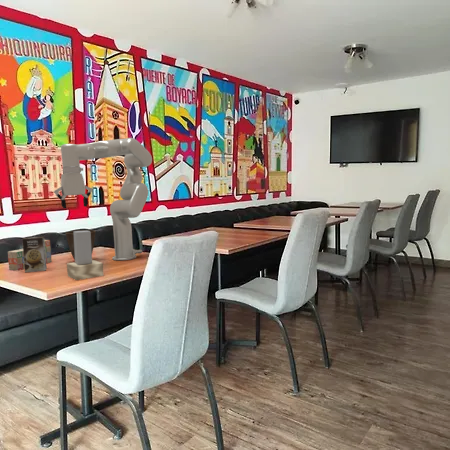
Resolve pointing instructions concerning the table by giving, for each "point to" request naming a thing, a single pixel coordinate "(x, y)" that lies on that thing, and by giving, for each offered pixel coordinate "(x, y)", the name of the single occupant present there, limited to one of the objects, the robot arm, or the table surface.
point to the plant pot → (71, 240)
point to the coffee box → (34, 254)
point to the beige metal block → (85, 270)
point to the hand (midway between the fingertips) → (75, 207)
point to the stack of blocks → (18, 257)
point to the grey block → (82, 247)
